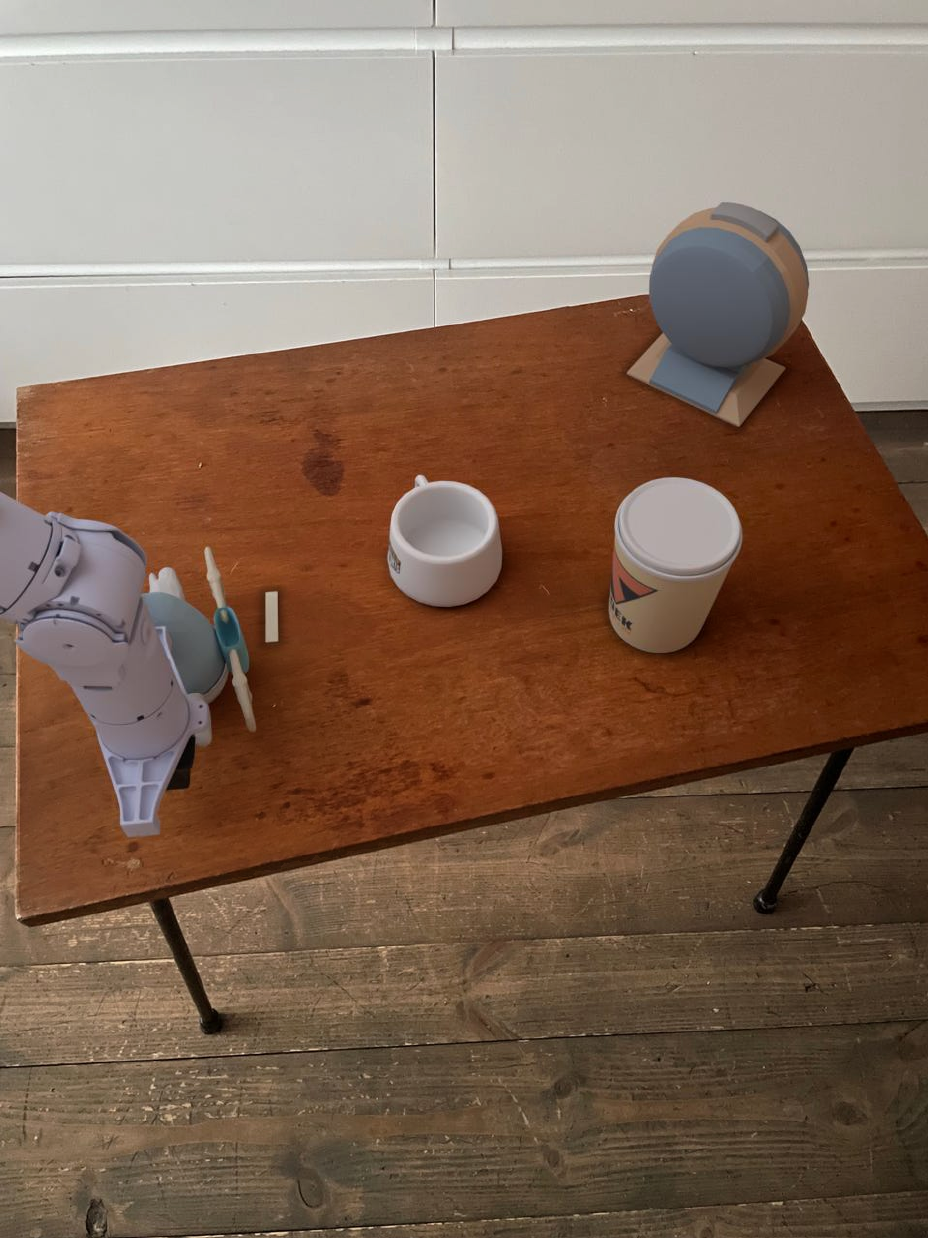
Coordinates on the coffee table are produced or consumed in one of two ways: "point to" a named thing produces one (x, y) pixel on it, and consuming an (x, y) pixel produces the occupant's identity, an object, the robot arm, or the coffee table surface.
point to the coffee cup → (670, 561)
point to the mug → (444, 543)
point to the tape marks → (271, 617)
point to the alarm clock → (723, 309)
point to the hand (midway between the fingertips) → (175, 782)
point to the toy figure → (202, 641)
